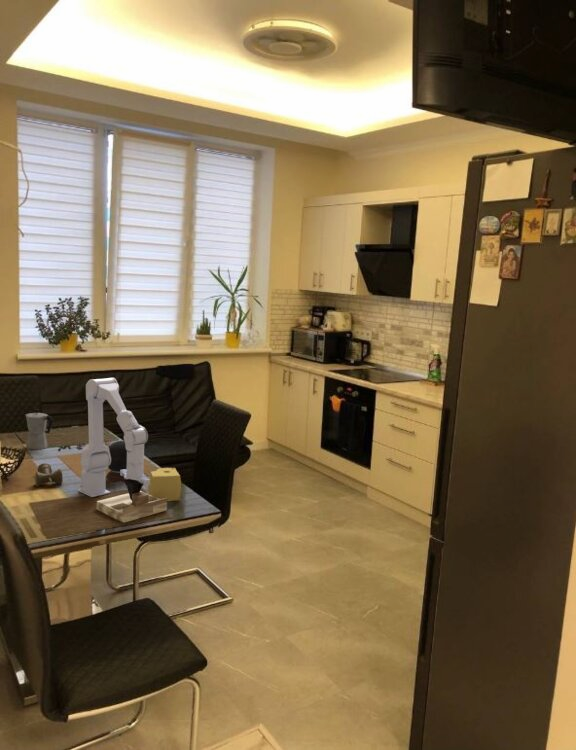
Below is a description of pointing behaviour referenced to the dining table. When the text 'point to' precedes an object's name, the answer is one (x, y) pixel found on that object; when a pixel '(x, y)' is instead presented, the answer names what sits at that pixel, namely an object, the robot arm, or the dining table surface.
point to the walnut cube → (139, 498)
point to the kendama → (47, 475)
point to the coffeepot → (37, 430)
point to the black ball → (117, 461)
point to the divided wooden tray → (130, 507)
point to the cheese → (165, 484)
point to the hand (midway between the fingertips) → (134, 499)
